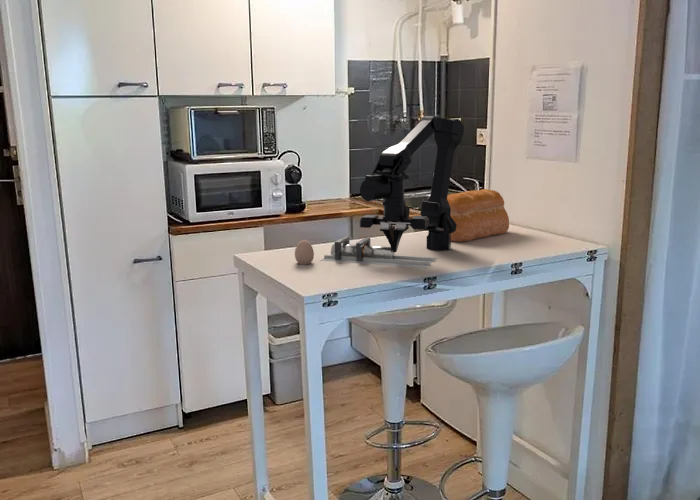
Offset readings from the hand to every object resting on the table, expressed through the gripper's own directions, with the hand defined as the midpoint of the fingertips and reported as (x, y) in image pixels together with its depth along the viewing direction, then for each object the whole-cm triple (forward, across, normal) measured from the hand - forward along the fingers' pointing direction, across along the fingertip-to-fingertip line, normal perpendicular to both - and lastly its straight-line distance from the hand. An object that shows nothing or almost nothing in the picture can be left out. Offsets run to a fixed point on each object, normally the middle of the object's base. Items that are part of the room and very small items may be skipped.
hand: (394, 252), depth 186 cm
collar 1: (+2, +16, 0) cm, 16 cm away
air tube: (+2, +10, 0) cm, 10 cm away
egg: (+3, +24, +10) cm, 26 cm away
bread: (+4, -14, -44) cm, 47 cm away
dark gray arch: (+2, +9, 0) cm, 10 cm away
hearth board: (+3, +5, 0) cm, 6 cm away
